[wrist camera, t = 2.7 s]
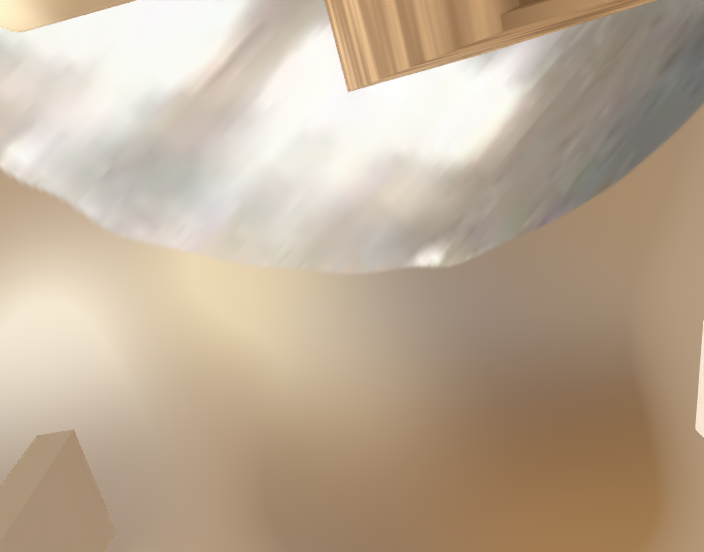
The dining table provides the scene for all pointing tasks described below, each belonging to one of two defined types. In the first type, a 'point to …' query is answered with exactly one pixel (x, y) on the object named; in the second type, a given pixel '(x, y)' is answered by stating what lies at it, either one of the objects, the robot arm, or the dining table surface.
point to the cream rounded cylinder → (47, 11)
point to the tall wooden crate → (444, 30)
